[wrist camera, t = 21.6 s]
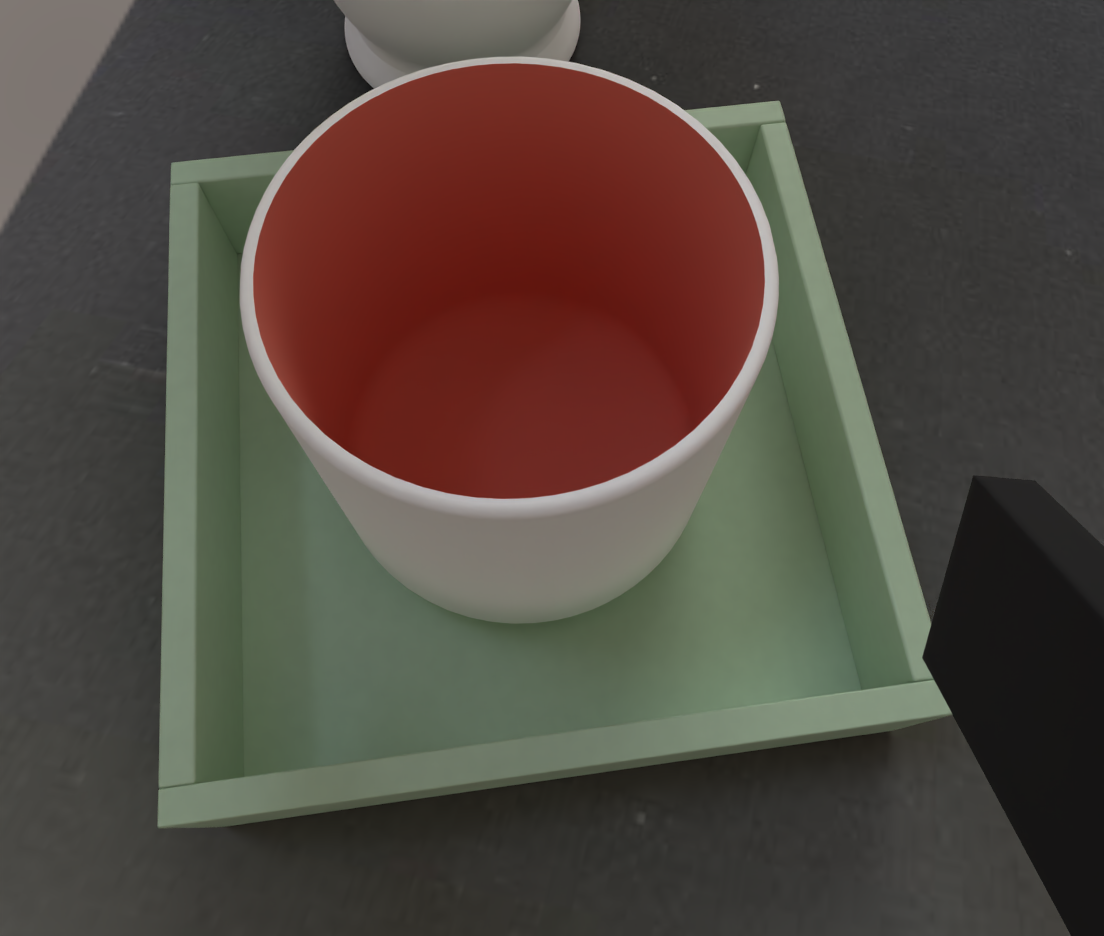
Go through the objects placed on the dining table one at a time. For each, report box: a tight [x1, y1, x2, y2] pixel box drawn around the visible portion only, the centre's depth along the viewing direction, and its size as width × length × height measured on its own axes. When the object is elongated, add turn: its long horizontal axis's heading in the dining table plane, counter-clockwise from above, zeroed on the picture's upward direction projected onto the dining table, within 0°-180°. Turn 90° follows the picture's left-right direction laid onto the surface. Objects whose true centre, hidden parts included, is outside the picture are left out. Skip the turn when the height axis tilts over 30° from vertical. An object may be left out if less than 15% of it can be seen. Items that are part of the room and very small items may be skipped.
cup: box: [240, 57, 779, 624], centre depth 21 cm, size 10×10×10 cm
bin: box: [158, 101, 953, 828], centre depth 25 cm, size 18×18×4 cm
